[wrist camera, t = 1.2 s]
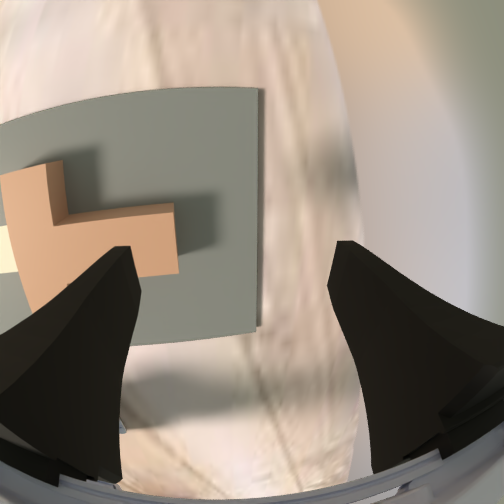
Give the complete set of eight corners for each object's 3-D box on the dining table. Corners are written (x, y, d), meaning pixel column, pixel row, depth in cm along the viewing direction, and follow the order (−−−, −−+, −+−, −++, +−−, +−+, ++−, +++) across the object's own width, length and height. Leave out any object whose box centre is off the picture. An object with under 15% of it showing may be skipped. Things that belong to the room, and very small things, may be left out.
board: (254, 327, 25) (256, 331, 25) (-34, 340, 17) (-36, 343, 17) (255, 89, 18) (257, 88, 17) (-80, 166, 10) (-84, 167, 9)
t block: (171, 145, 17) (169, 144, 15) (183, 302, 22) (185, 324, 19) (19, 169, 15) (-1, 175, 12) (51, 312, 19) (40, 332, 16)
